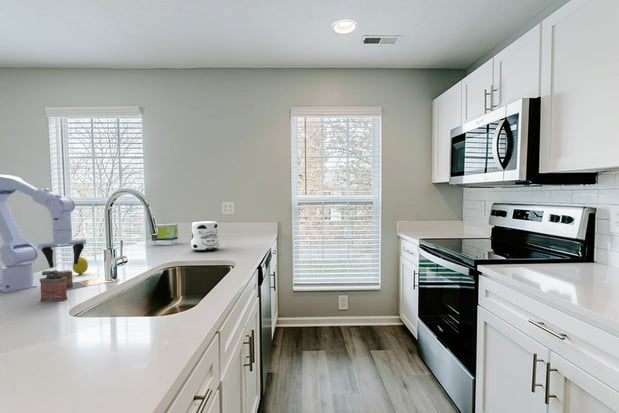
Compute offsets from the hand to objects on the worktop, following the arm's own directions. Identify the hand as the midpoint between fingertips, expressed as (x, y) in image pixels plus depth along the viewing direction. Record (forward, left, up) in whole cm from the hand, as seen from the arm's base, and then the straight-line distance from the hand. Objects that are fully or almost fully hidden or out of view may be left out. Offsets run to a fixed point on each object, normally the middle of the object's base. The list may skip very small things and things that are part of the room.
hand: (63, 265), depth 122 cm
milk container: (+82, +31, -9) cm, 88 cm away
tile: (+11, 0, -8) cm, 14 cm away
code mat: (0, 0, -8) cm, 8 cm away
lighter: (-7, -16, -9) cm, 20 cm away
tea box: (+81, +80, -9) cm, 114 cm away
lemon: (+11, +20, -9) cm, 24 cm away
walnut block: (0, 0, -8) cm, 8 cm away
